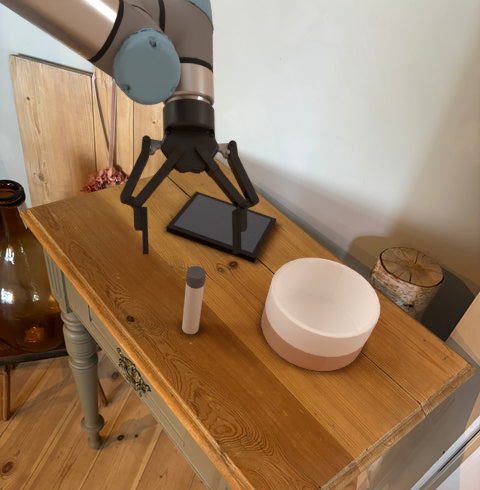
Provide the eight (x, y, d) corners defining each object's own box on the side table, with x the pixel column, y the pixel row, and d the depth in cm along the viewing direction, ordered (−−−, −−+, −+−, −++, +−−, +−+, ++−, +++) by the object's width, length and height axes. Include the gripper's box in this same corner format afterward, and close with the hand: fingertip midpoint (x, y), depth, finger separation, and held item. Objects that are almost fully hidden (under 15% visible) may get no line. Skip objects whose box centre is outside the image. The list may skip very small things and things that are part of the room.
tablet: (166, 231, 88) (166, 226, 87) (195, 196, 97) (196, 190, 96) (254, 263, 86) (255, 257, 85) (275, 223, 95) (277, 218, 94)
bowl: (241, 336, 73) (250, 300, 67) (288, 279, 84) (299, 243, 78) (339, 390, 69) (358, 357, 63) (375, 322, 80) (394, 288, 74)
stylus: (179, 330, 72) (183, 274, 63) (186, 319, 74) (191, 263, 65) (194, 336, 72) (201, 281, 63) (201, 325, 74) (208, 269, 65)
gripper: (263, 121, 73) (265, 255, 75) (100, 110, 68) (106, 255, 69) (278, 102, 66) (280, 251, 68) (97, 88, 61) (103, 251, 62)
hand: (192, 253), depth 68 cm, fingers open, 13 cm apart
